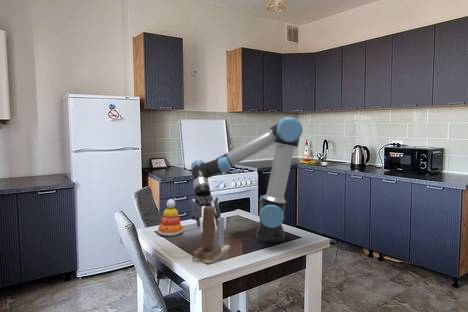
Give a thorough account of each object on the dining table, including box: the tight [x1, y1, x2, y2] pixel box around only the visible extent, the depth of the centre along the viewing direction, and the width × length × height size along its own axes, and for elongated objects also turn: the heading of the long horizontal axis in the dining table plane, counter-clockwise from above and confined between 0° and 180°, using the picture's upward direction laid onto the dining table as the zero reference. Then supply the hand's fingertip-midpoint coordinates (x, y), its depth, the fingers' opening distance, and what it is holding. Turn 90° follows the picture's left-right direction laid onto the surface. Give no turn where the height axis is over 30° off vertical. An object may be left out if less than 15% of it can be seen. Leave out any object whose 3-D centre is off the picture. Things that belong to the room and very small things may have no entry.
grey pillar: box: [212, 216, 225, 247], centre depth 169 cm, size 4×6×14 cm, turn 161°
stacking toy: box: [156, 198, 184, 237], centre depth 196 cm, size 14×14×20 cm
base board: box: [191, 244, 231, 265], centre depth 163 cm, size 10×21×4 cm, turn 161°
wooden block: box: [200, 205, 216, 249], centre depth 158 cm, size 9×4×18 cm, turn 176°
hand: (208, 231), depth 154 cm, fingers closed on wooden block, 6 cm apart
